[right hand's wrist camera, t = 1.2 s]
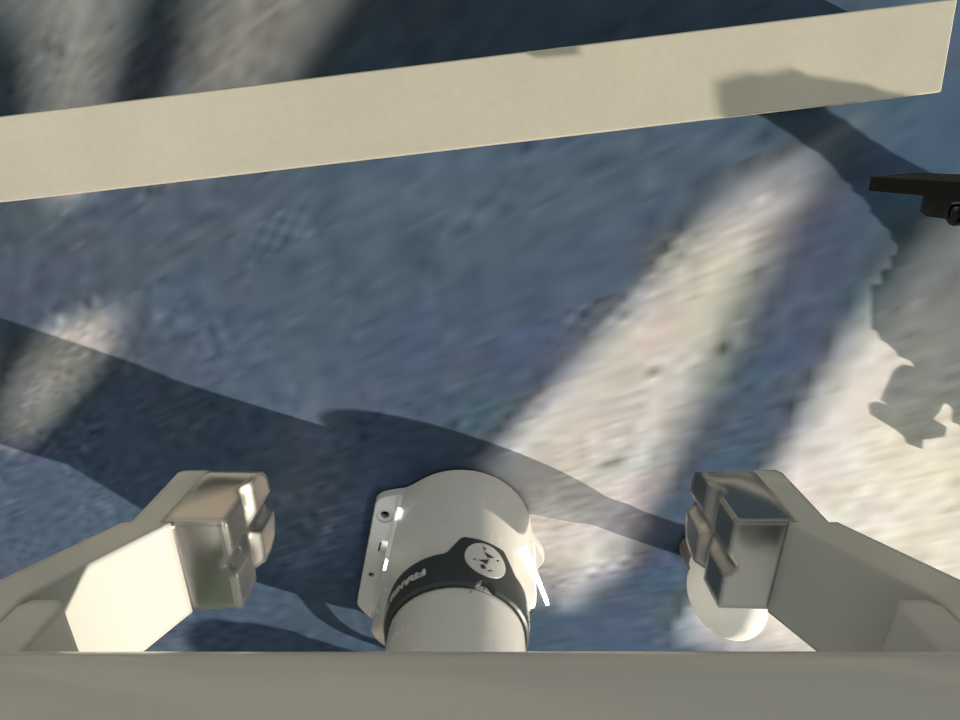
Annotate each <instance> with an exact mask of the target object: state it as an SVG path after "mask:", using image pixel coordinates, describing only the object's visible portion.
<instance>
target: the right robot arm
mask: <svg viewBox="0 0 960 720" xmlns="http://www.w3.org/2000/svg"><path fill="white" fill-rule="evenodd" d="M269 492H270V488H269V483H268V478H267V476H266V475H265V474H264V473H263V472H262V471H215V470H212V471H209V470H185V471H181V472H178V473H177V474H176V475H175V476H174V478H173V479H172V480H171V481H170V482H169V483H168V484H167V485H166V486H165V487H164V488H163V489H162V490H161V491H160V492H159V493H158V495H157V496H156V497H155V498H154V499H153V500H152V501H151V502H150V503H149V504H148V505H147V506H146V507H145V508H144V509H143V510H142V512H141V513H140V514H139V515H138V516H137V517H136V518H135V519H134V520H133V521H132V522H122V523H120V524H118V525H116V526H114V527H112V528H109V529H107V530H105V531H103V532H101V533H99V534H97V535H95V536H92V537H90V538H88V539H86V540H84V541H82V542H80V543H78V544H75V545H73V546H71V547H69V548H67V549H65V550H63V551H61V552H58V553H56V554H54V555H52V556H50V557H48V558H46V559H44V560H41V561H39V562H37V563H35V564H33V565H31V566H29V567H26V568H24V569H22V570H20V571H18V572H16V573H14V574H12V575H9V576H7V577H5V578H3V579H1V580H0V720H960V580H959V579H957V578H954V577H952V576H950V575H948V574H946V573H944V572H942V571H940V570H937V569H935V568H933V567H931V566H929V565H927V564H925V563H923V562H921V561H918V560H916V559H914V558H912V557H910V556H908V555H906V554H904V553H901V552H899V551H897V550H895V549H893V548H891V547H889V546H887V545H884V544H882V543H880V542H878V541H876V540H874V539H872V538H870V537H867V536H865V535H863V534H861V533H859V532H857V531H855V530H853V529H850V528H848V527H846V526H844V525H842V524H840V523H838V522H828V521H827V520H826V519H825V518H824V517H823V516H822V515H821V514H820V513H819V511H818V510H817V509H816V508H815V507H814V506H813V505H812V504H811V503H810V502H809V501H808V500H807V499H806V498H805V497H804V496H803V494H802V493H801V492H800V491H799V490H798V489H797V488H796V487H795V486H794V485H793V484H792V483H791V482H790V481H789V480H788V479H787V477H786V476H785V475H784V474H783V473H781V472H779V471H777V470H758V471H731V472H695V474H694V476H693V478H692V482H691V487H690V492H691V494H692V496H693V497H694V499H695V501H696V502H695V503H694V504H693V505H692V506H691V507H690V508H689V509H688V510H687V511H686V519H685V536H686V543H687V546H688V549H689V552H690V554H691V556H692V558H693V560H694V562H696V563H697V564H699V565H700V566H702V567H703V568H705V573H704V578H703V580H704V582H705V583H706V585H707V587H708V589H709V591H710V593H711V595H712V597H713V599H714V601H715V602H716V604H717V606H718V608H746V609H768V610H767V611H768V612H769V613H770V614H771V615H772V616H774V617H775V618H776V619H777V620H779V621H780V622H781V623H782V624H784V625H785V626H786V627H787V628H789V629H790V630H791V631H792V632H793V633H795V634H796V635H797V636H798V637H800V638H801V639H802V640H803V641H805V642H806V643H807V644H808V645H809V646H811V647H812V648H813V649H814V650H816V651H817V652H526V651H527V648H528V644H529V631H530V617H529V611H530V610H531V609H533V608H534V607H535V605H536V582H537V584H538V587H539V589H540V592H541V594H542V597H543V599H544V602H545V604H546V606H547V605H549V602H548V598H547V595H546V593H545V590H544V588H543V585H542V583H541V580H540V578H539V575H538V573H537V569H538V568H539V567H540V566H541V565H542V563H543V562H544V549H543V547H542V545H541V544H540V542H539V541H538V540H537V538H536V537H535V536H534V535H533V532H532V529H531V523H530V517H529V513H528V510H527V508H526V506H525V504H524V502H523V500H522V499H521V498H520V496H519V495H518V494H517V493H516V492H515V491H514V490H513V489H512V488H511V487H510V486H509V485H507V484H506V483H504V482H503V481H501V480H499V479H498V478H496V477H493V476H491V475H488V474H485V473H482V472H478V471H472V470H449V471H443V472H439V473H436V474H432V475H430V476H427V477H425V478H423V479H422V480H420V481H418V482H416V483H414V484H413V485H410V486H408V487H405V488H397V489H391V490H386V491H383V492H381V493H380V494H378V496H377V497H376V501H375V506H374V512H373V517H372V522H371V528H370V533H369V539H368V544H367V549H366V555H365V560H364V565H363V571H362V576H361V582H360V587H359V593H358V600H357V603H358V606H359V607H360V608H361V609H362V610H363V611H364V612H365V613H366V614H367V615H368V616H369V617H371V618H372V619H373V622H372V626H371V632H372V634H373V635H374V637H375V638H376V639H377V640H378V641H379V642H380V643H381V644H383V645H384V646H385V647H386V648H385V652H143V651H145V650H146V649H147V648H148V647H149V646H151V645H152V644H153V643H154V642H156V641H157V640H158V639H159V638H161V637H162V636H163V635H164V634H166V633H167V632H168V631H169V630H170V629H172V628H173V627H174V626H175V625H177V624H178V623H179V622H180V621H182V620H183V619H184V618H185V617H187V616H188V615H189V614H190V613H191V612H192V609H213V608H242V606H243V604H244V602H245V601H246V599H247V597H248V595H249V593H250V591H251V589H252V587H253V585H254V583H255V582H256V580H257V578H256V573H255V568H257V567H258V566H260V565H261V564H263V563H264V562H266V560H267V558H268V556H269V554H270V552H271V550H272V546H273V541H274V537H275V518H274V511H273V510H272V509H271V508H270V507H269V506H268V505H267V504H266V503H265V502H264V501H265V499H266V497H267V496H268V494H269ZM383 511H386V512H388V514H384V513H383Z"/></svg>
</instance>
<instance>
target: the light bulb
mask: <svg viewBox="0 0 960 720" xmlns="http://www.w3.org/2000/svg"><path fill="white" fill-rule="evenodd" d="M679 549H680V553H681V555H682V557H683V559H684V561H685V563H686V565H687V567H688V569H689V572H688V576H687V592H688V597H689V600H690V602H691V605H692V608H693V609H694V611H695V613H696V614H697V616H698V617H699V619H700V620H701V621H702V622H703V623H704V625H706V626H707V627H708V628H709V629H710V630H711V631H713V632H714V633H716V634H717V635H719V636H721V637H723V638H726V639H729V640H735V641H745V640H749V639H751V638H753V637H755V636H757V635H758V634H759V633H760V632H761V631H762V629H763V628H764V626H765V624H766V622H767V618H768V611H767V610H768V609H746V608H718V606H717V604H716V602H715V601H714V599H713V597H712V595H711V593H710V591H709V589H708V587H707V585H706V583H705V582H704V580H703V578H704V573H705V568H703V567H702V566H700V565H699V564H697V563H696V562H694V560H693V558H692V556H691V554H690V552H689V549H688V546H687V543H686V538H684V539H683V540H682V542H681V544H680V547H679Z"/></svg>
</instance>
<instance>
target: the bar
mask: <svg viewBox="0 0 960 720" xmlns="http://www.w3.org/2000/svg"><path fill="white" fill-rule="evenodd" d="M956 1H957V0H942V1H933V2H925V3H917V4H909V5H901V6H893V7H885V8H877V9H869V10H861V11H852V12H844V13H836V14H828V15H820V16H812V17H804V18H796V19H788V20H779V21H771V22H763V23H755V24H747V25H739V26H731V27H723V28H715V29H707V30H698V31H690V32H682V33H674V34H666V35H658V36H650V37H642V38H634V39H625V40H617V41H609V42H601V43H593V44H585V45H577V46H569V47H561V48H552V49H544V50H536V51H528V52H520V53H512V54H504V55H496V56H488V57H480V58H471V59H463V60H455V61H447V62H439V63H431V64H423V65H415V66H407V67H398V68H390V69H382V70H374V71H366V72H358V73H350V74H342V75H334V76H326V77H317V78H309V79H301V80H293V81H285V82H277V83H269V84H261V85H253V86H244V87H236V88H228V89H220V90H212V91H204V92H196V93H188V94H180V95H172V96H163V97H155V98H147V99H139V100H131V101H123V102H115V103H107V104H99V105H90V106H82V107H74V108H66V109H58V110H50V111H42V112H34V113H26V114H18V115H9V116H1V117H0V202H7V201H16V200H25V199H35V198H44V197H53V196H62V195H71V194H80V193H88V192H97V191H105V190H114V189H122V188H131V187H139V186H148V185H157V184H165V183H174V182H182V181H191V180H199V179H208V178H216V177H225V176H233V175H242V174H250V173H259V172H268V171H276V170H285V169H293V168H302V167H310V166H319V165H327V164H336V163H344V162H353V161H362V160H370V159H379V158H387V157H396V156H404V155H413V154H421V153H430V152H438V151H447V150H456V149H464V148H473V147H481V146H490V145H498V144H507V143H515V142H524V141H532V140H541V139H549V138H558V137H567V136H575V135H584V134H592V133H601V132H609V131H618V130H626V129H635V128H643V127H652V126H661V125H669V124H678V123H686V122H695V121H703V120H712V119H720V118H729V117H737V116H746V115H755V114H763V113H772V112H780V111H789V110H797V109H806V108H814V107H823V106H831V105H840V104H848V103H857V102H865V101H873V100H881V99H890V98H898V97H906V96H914V95H922V94H930V93H938V92H940V91H941V87H942V81H943V75H944V70H945V64H946V58H947V53H948V47H949V41H950V36H951V30H952V24H953V19H954V13H955V7H956Z"/></svg>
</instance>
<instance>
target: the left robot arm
mask: <svg viewBox="0 0 960 720" xmlns="http://www.w3.org/2000/svg"><path fill="white" fill-rule="evenodd" d="M869 190H871V191H882V192H893V193H903V194H914V195H923V200H922V205H921V211H920V212H922V213H923V214H924V215H926V216H929V217H936V218H944V219H946V221H947V222H948V224H950V225H952V226H959V225H960V175H958V174H934V173H910V174H899V175H888V176H877V177H871V180H870V186H869Z"/></svg>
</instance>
